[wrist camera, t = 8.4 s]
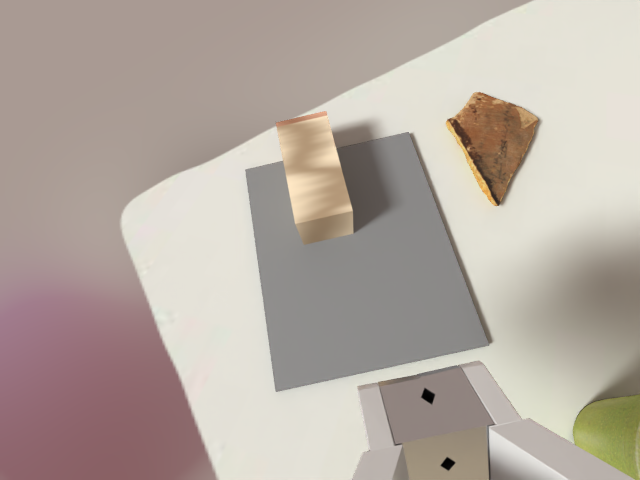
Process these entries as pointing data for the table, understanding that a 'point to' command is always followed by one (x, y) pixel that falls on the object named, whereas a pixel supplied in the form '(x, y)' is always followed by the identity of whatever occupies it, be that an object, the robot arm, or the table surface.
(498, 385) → the robot arm
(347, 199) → the birch block
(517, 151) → the shard
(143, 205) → the table surface
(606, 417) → the plant pot
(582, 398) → the table surface
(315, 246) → the rubber mat
